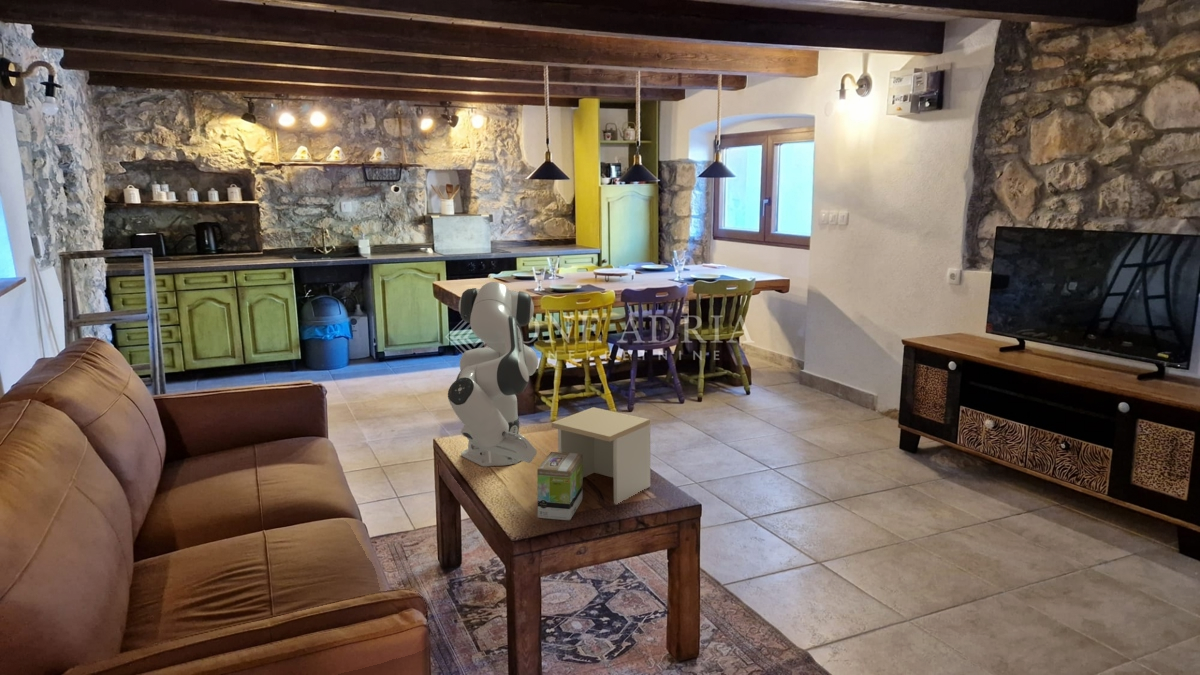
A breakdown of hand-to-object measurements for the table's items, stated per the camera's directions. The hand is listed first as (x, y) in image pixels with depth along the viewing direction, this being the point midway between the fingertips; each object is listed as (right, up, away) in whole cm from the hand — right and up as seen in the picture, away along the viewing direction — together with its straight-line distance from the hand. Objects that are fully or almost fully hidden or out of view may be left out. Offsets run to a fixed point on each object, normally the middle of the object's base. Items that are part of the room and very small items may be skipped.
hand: (514, 460), depth 199 cm
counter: (+23, -14, +34) cm, 43 cm away
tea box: (+11, -17, +19) cm, 28 cm away
